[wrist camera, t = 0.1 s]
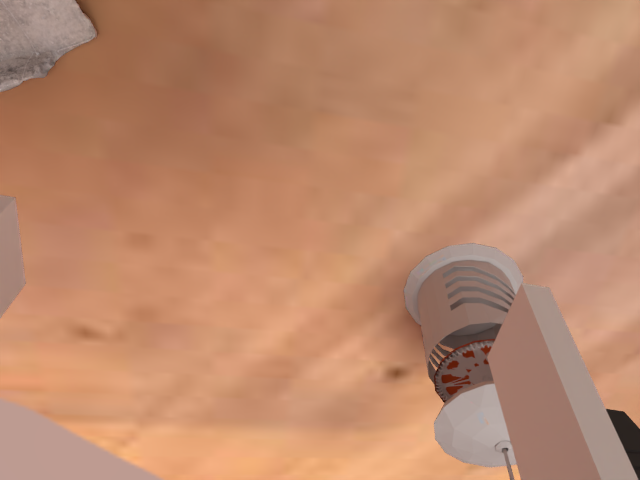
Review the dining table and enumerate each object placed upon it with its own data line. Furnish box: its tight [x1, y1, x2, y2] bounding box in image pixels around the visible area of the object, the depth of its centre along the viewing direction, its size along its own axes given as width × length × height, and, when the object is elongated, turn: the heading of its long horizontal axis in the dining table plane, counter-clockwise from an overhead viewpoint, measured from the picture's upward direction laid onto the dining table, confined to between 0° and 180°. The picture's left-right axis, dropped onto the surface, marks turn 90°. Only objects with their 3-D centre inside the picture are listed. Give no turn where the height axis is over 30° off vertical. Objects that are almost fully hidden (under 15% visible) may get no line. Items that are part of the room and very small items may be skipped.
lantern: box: [404, 243, 523, 480], centre depth 39 cm, size 10×12×25 cm
